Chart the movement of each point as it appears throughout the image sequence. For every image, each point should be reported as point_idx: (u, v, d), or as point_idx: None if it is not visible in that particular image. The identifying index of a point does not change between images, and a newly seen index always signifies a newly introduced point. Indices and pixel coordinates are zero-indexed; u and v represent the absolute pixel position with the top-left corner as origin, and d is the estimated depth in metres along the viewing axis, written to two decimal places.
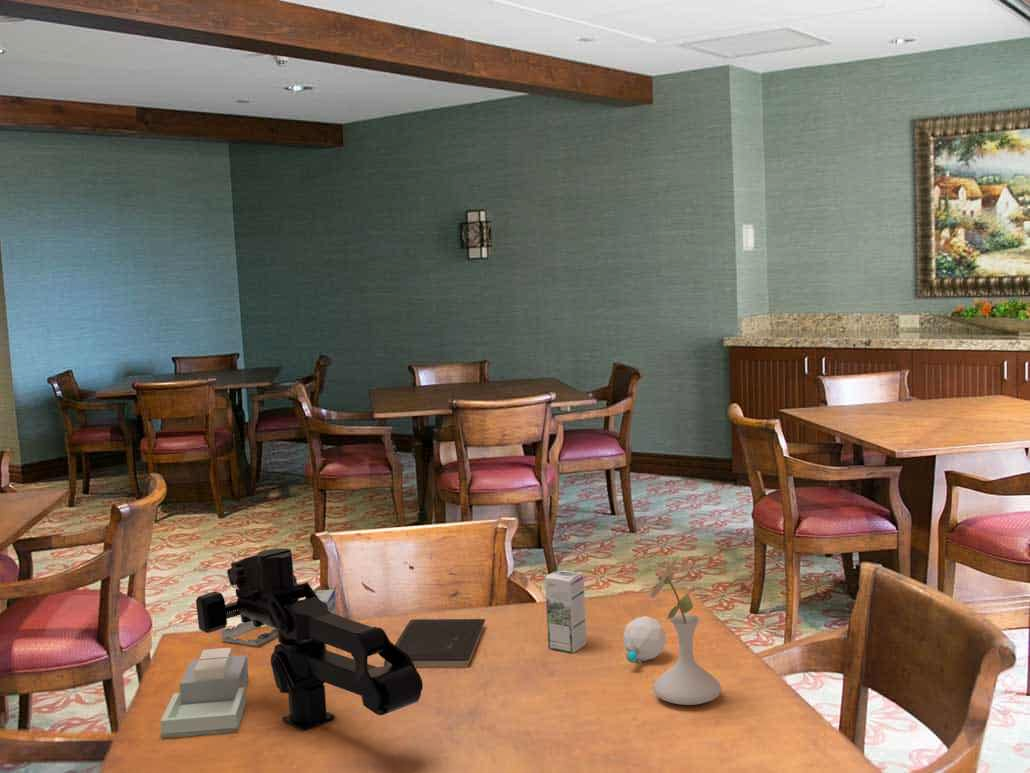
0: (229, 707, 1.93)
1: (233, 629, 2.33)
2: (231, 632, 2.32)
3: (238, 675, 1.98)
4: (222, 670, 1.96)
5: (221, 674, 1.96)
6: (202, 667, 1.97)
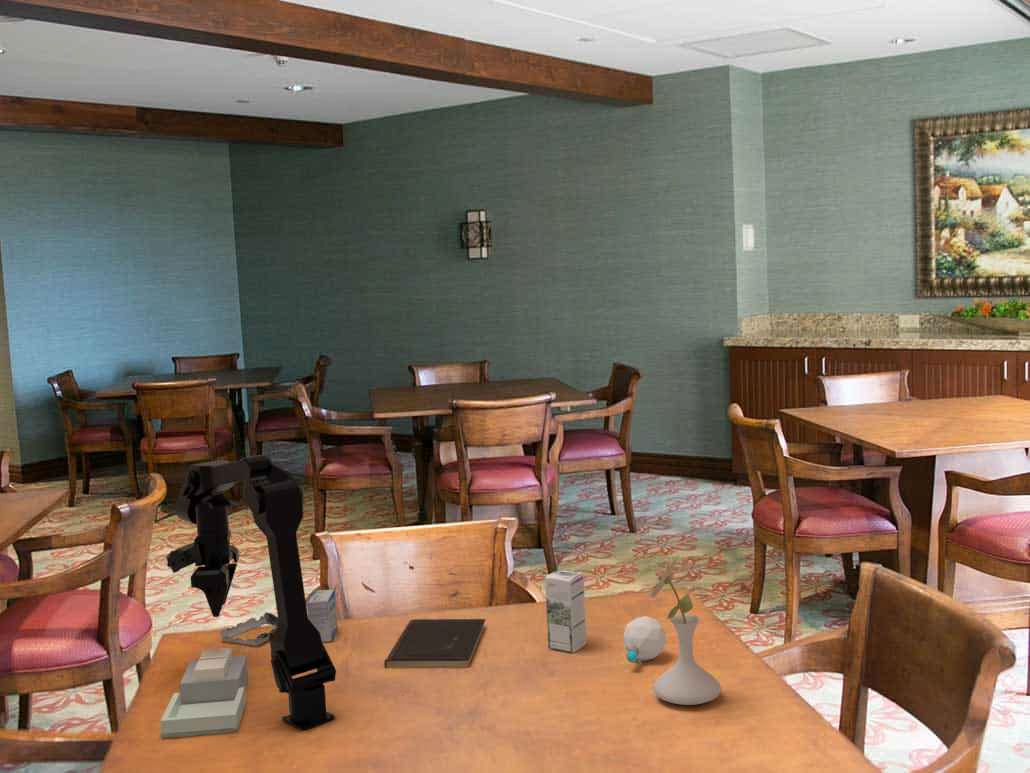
0: (229, 707, 1.93)
1: (232, 628, 2.33)
2: (230, 632, 2.32)
3: (238, 675, 1.98)
4: (222, 670, 1.96)
5: (221, 674, 1.96)
6: (202, 667, 1.97)
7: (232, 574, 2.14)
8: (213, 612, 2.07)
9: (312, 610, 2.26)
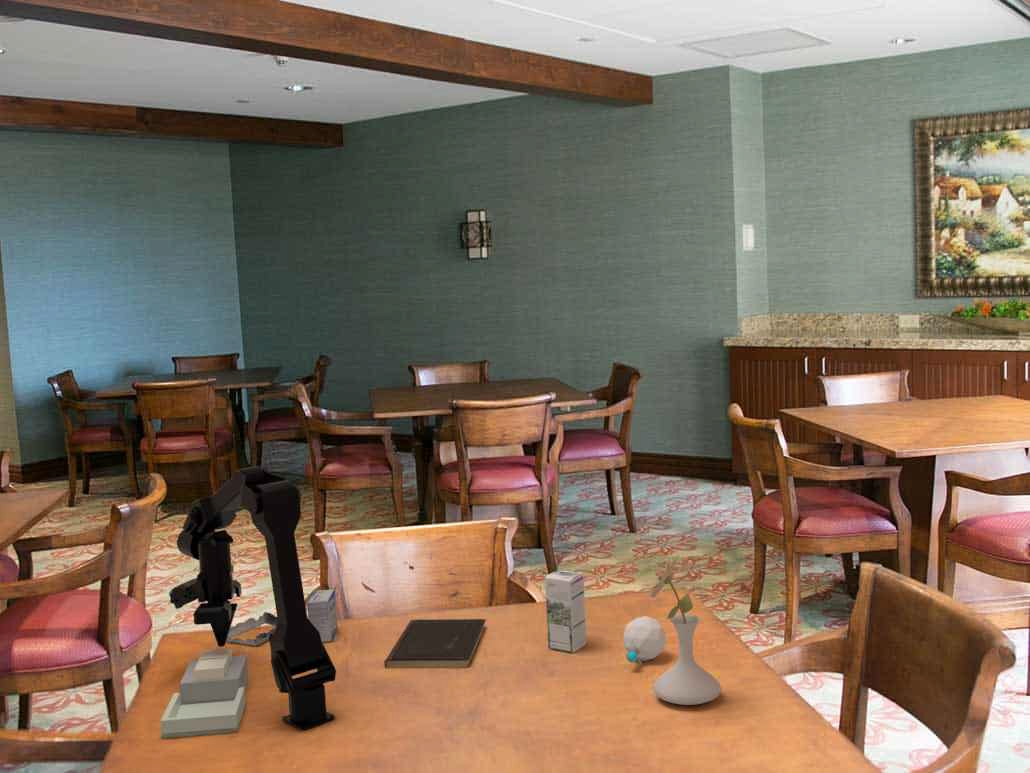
0: (229, 707, 1.93)
1: (232, 628, 2.33)
2: (230, 632, 2.32)
3: (238, 675, 1.98)
4: (222, 670, 1.96)
5: (221, 674, 1.96)
6: (202, 667, 1.97)
7: None
8: (219, 642, 2.11)
9: (312, 610, 2.26)
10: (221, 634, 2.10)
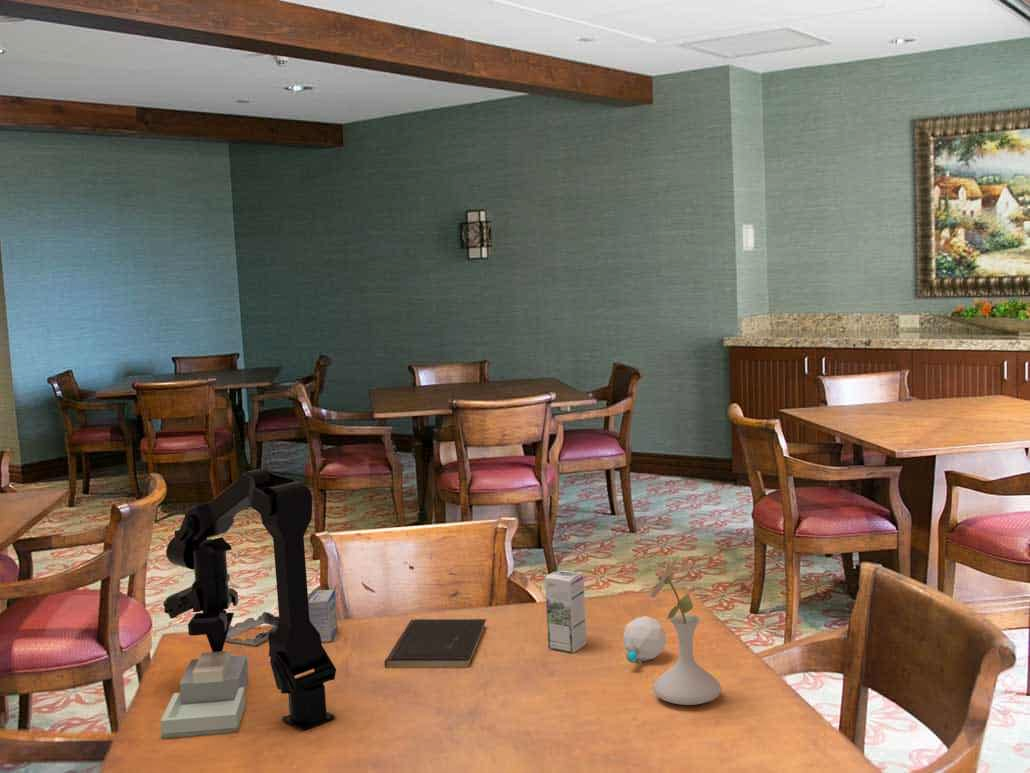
0: (229, 707, 1.93)
1: (231, 628, 2.33)
2: (229, 632, 2.33)
3: (238, 675, 1.98)
4: (220, 672, 1.95)
5: (219, 676, 1.95)
6: (200, 669, 1.96)
7: None
8: None
9: (312, 609, 2.26)
10: (217, 644, 2.04)
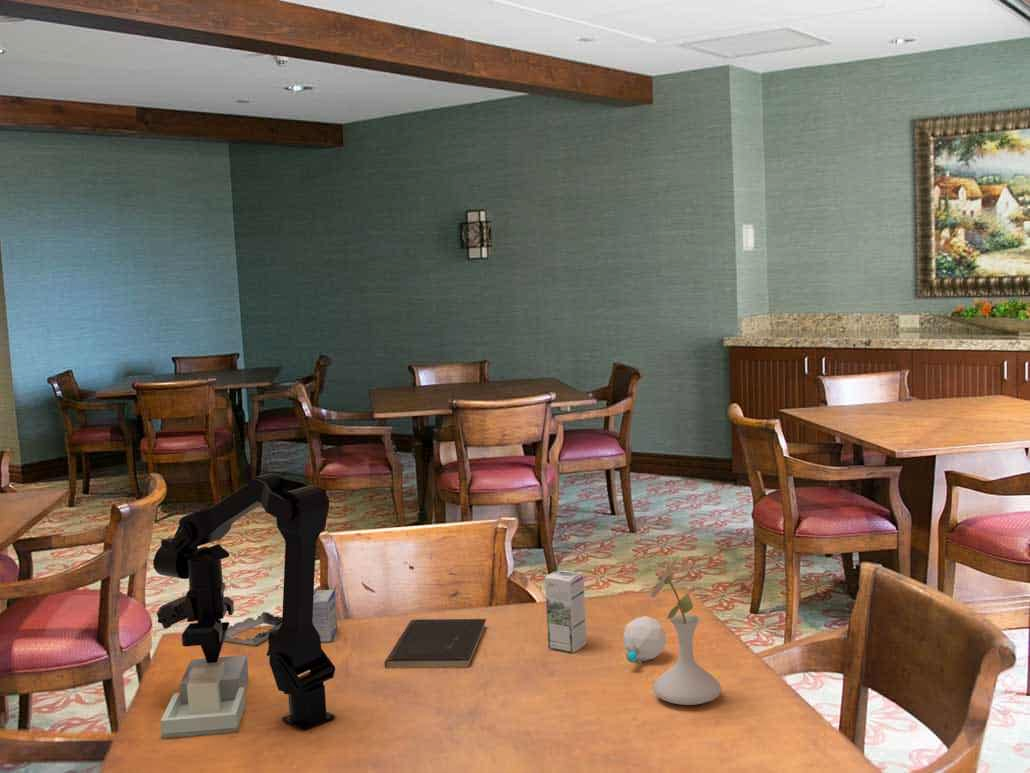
0: (229, 707, 1.93)
1: (230, 628, 2.33)
2: (228, 631, 2.33)
3: (238, 675, 1.98)
4: (218, 710, 1.92)
5: None
6: (195, 706, 1.91)
7: None
8: None
9: None
10: (212, 655, 1.99)
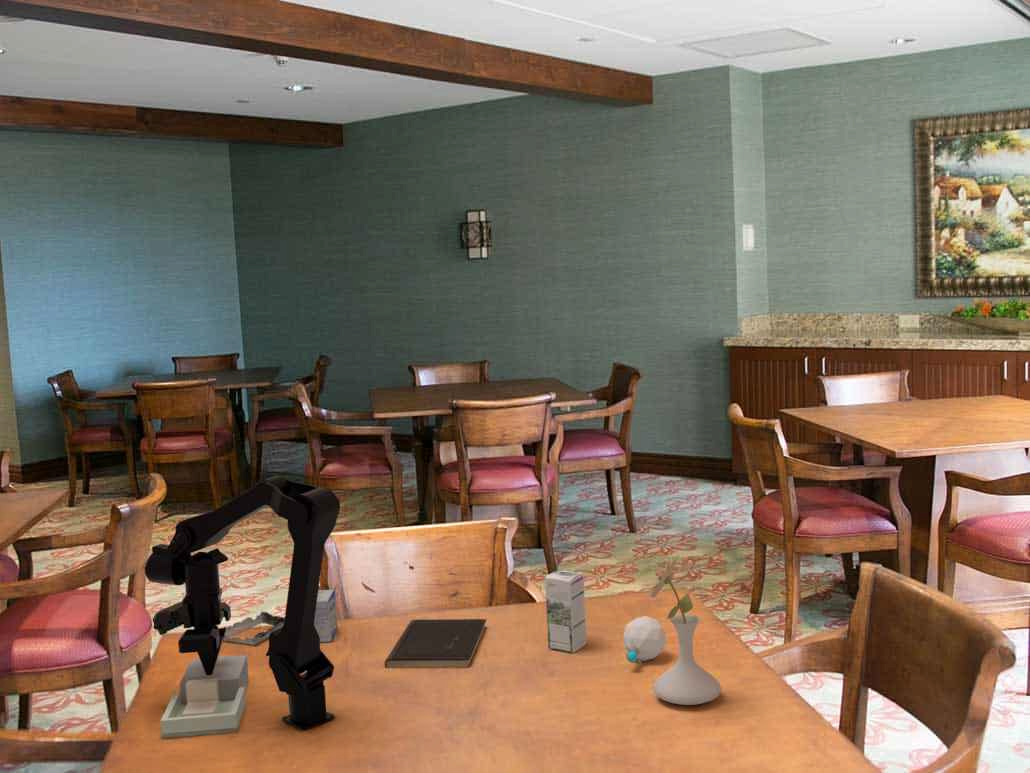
0: (229, 707, 1.93)
1: (229, 628, 2.33)
2: (227, 631, 2.33)
3: (238, 675, 1.98)
4: None
5: None
6: None
7: None
8: (206, 670, 1.96)
9: None
10: (208, 662, 1.95)
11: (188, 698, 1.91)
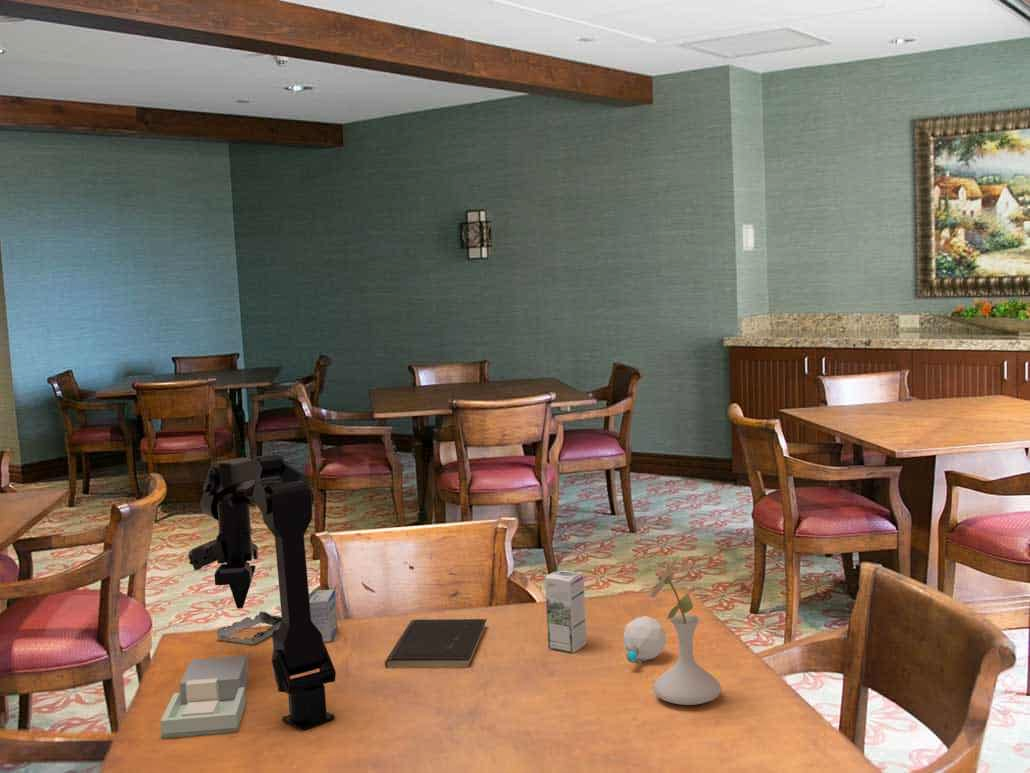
0: (229, 707, 1.93)
1: (228, 627, 2.34)
2: (226, 631, 2.33)
3: (238, 675, 1.98)
4: None
5: None
6: None
7: None
8: (238, 603, 2.10)
9: (312, 610, 2.26)
10: (240, 596, 2.09)
11: (188, 698, 1.91)
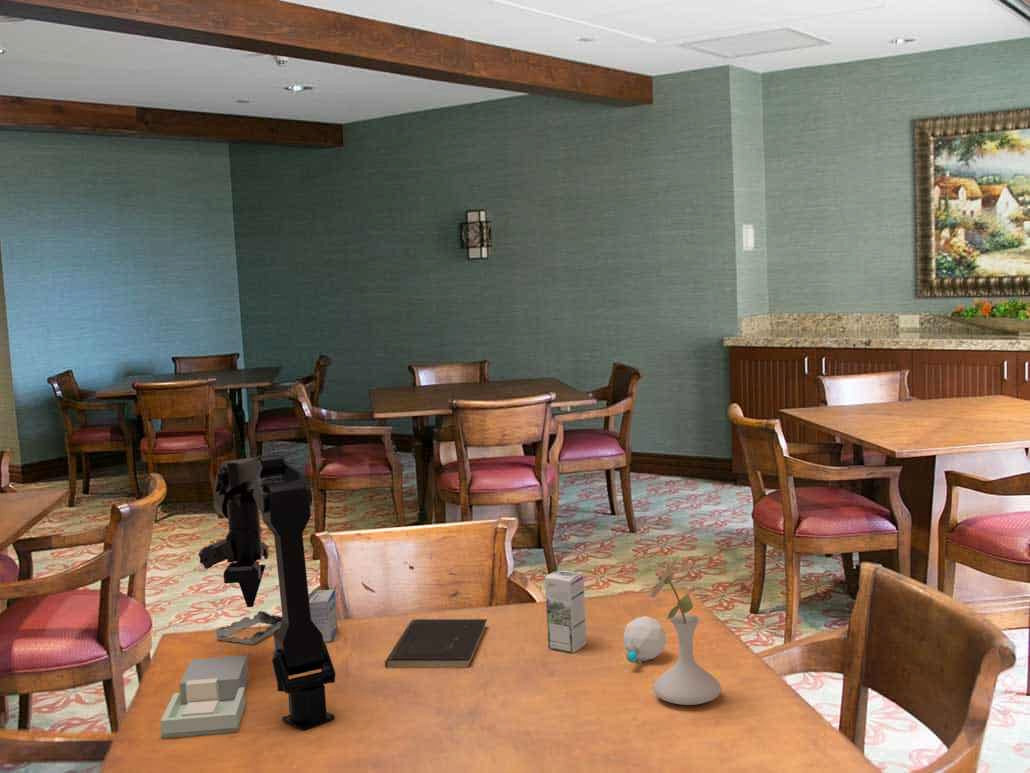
0: (229, 707, 1.93)
1: (227, 627, 2.34)
2: (225, 631, 2.33)
3: (238, 675, 1.98)
4: None
5: None
6: None
7: (261, 575, 2.13)
8: (248, 602, 2.12)
9: (312, 609, 2.26)
10: (250, 594, 2.11)
11: (188, 698, 1.91)
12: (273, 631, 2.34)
